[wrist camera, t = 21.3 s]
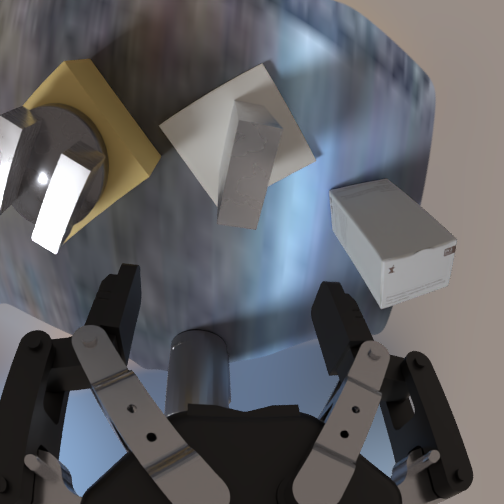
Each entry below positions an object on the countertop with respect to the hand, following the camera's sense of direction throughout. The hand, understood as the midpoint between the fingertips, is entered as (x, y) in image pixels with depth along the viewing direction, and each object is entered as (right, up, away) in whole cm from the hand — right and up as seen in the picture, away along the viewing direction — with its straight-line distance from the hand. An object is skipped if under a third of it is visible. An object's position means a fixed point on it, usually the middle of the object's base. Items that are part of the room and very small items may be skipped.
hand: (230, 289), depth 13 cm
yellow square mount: (-18, +14, +16) cm, 28 cm away
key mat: (0, +13, +18) cm, 22 cm away
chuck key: (0, +13, +17) cm, 21 cm away
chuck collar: (-18, +10, +11) cm, 23 cm away
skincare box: (+14, +8, +23) cm, 29 cm away
